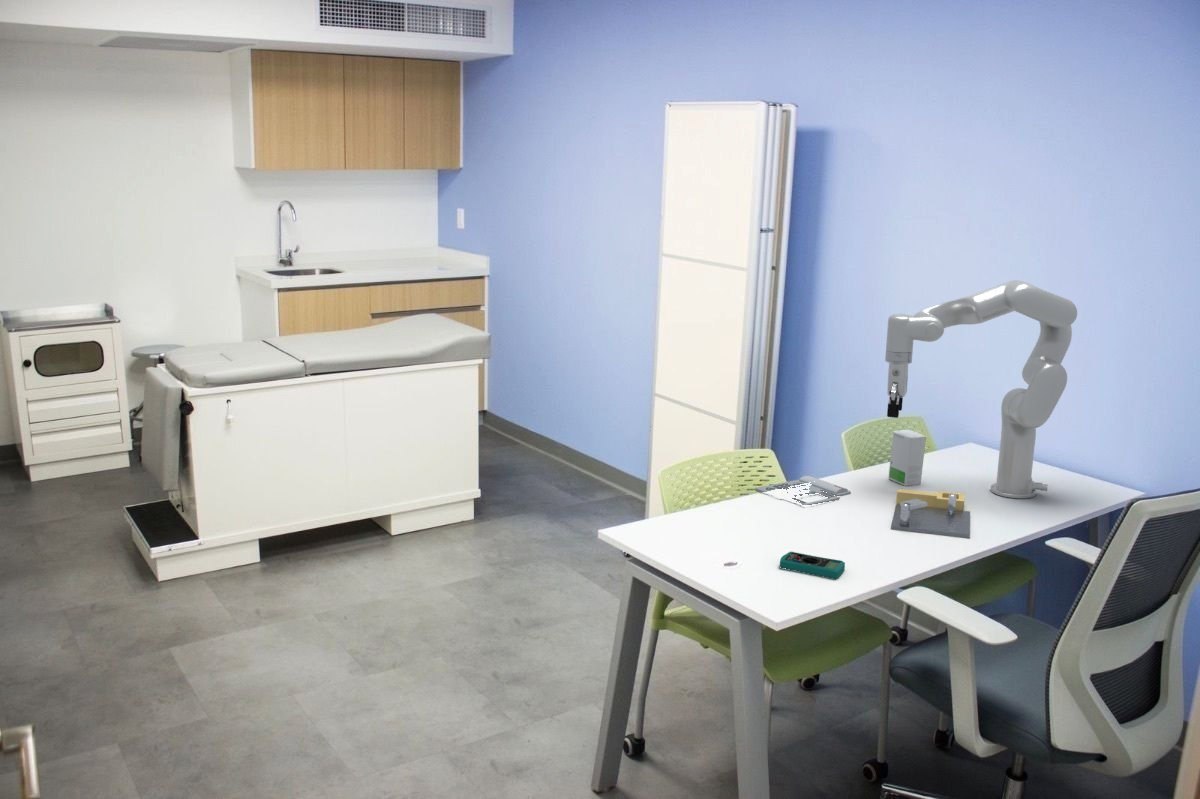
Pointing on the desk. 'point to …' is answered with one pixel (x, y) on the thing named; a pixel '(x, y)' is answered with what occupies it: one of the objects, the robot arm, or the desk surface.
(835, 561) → the digital multimeter
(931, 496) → the link
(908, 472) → the skincare box
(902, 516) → the pintle plate
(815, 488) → the office telephone
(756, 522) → the desk surface
